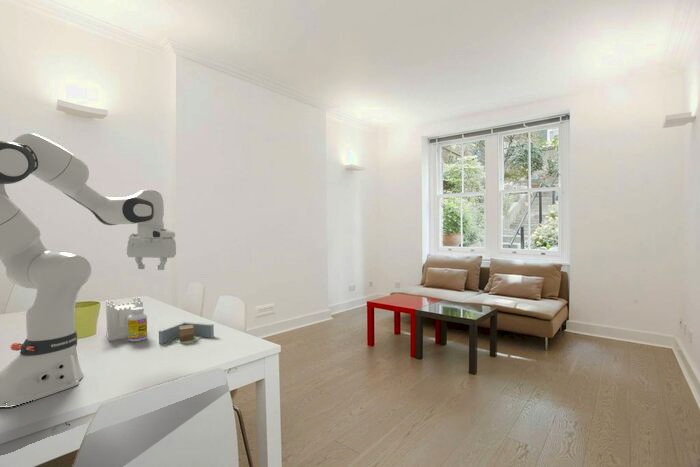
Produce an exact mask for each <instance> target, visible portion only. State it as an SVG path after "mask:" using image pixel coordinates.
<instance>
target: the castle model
mask: <svg viewBox="0 0 700 467" xmlns="http://www.w3.org/2000/svg"><path fill="white" fill-rule="evenodd" d="M136 307H143V308H144V302H143V300H141V297H140V296H134V297H132V302H126V303H125V302H124V303H122V304H120V303H117V305H116V304H115V303H114V300H113V299H110V300H105V311H106V312H105V313H106V331H105V332H106V338H107V341H108V342H109V341H115V340H116V341H117V340H121V339H127V338H128V317H129V316H130V315H131V309H132V308H136Z"/></svg>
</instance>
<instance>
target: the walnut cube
mask: <svg viewBox="0 0 700 467" xmlns="http://www.w3.org/2000/svg"><path fill="white" fill-rule="evenodd" d="M179 333H180V337H179V338H180V342H183V341H190V340H194V328H193V325H185V326H179Z"/></svg>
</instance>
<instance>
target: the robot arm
mask: <svg viewBox="0 0 700 467" xmlns="http://www.w3.org/2000/svg"><path fill="white" fill-rule="evenodd" d="M29 175H33V177H34V176H35V177H36V178H38V179H39V180H41V181H42V182H44V183H46V184H48V185H49V186H52V187H53V188H55V189H57V190H59V191H60V192H62V193H63V194H64V195H66V196H67V197H69V198H70V199H72V200H73V201H75V202H76V203H78V204H79V205H81V206H82V207H84V208H85V209H87V210H89V211H90V212H91V213H92V215H94V217H95V218H96V219H97V221H99V222H101V223H102V224H104V225H106V226H116V225H135V224H137V226H136V228H137V230H136V232H135V233H131V234H130V236H128V241H127V246H126V255H127V257H128V258H134V260H135V263H136V265H137V269H138V270H144V269H145V264H144V263H143V258H148V259H149V258H153V259H156V258H157V259H159V261H160V263H159V264H158V265H157V270H158V271H163V270H165V265H166V264H167V261H168V259H170V258H171V259H172V258H175V256H176V255H177V244H176V239H175V238H176V233H175V232H174V231H172V230H169V229H167V228H165V223H164V215H165V214H164V213H165V212H164V211H165V207H164V199H163V196H162V194H161V193H160V192H159V191H156V190H153V189H145V188H144V189H140V190H139V191H138V192H136V193H135V194H131V195H128V196H122V197H109V196H104V195H102V194H101V193H99V192H97V191H96V190H94V189H93V188H92V187H90V186H89V185H88V184H86V183H87V182H88V180H89V177H90V176H89V175H90V171H89V166H88V165H87V164H86V163H85V162H84V161H83V160H82V159H81V158H79V157H78V156H76V155H75V154H74V153H72V152H70V151H69V150H67V149H66V148H64V147H62V146H61V145H59V144H57V143H55V142H53V140H52V141H51V140H50V139H48V138H46V137H43V136H40V135H39V134H36V133H23V134H21V135H20V136H19V135H18V136H17V137H15V139H13V140H12V141H6V140H0V261H1V263H2V264H3V266H4V267H5V268H6V269H5V274H6V277H7V279H8V280H9V281H10V282H11V283H13V284H15V285H17V286H19V287H23V288H25V289H33V290H34V289H35V290H36V295H35V297H34V301H33V304H32V306H31V307H29V308H28V309H27V311H26V314H25V323H26V324H25V325H26V326H25V328H26V329H25V330H26V338H25V340H24V342H23V343H19V342H13V343H11V345H10V347H9V349H10V350H12V351H16V352H18V351H19V354H18V355H17V356H16V357H15V358H14V359H13V360H11V361H10V363H8V364H7V365H6V366H5V367H4V368H3V369H1V371H0V406H6V405H7V406H11V405H18V404H22V403H25V404H27V403H26V402H28V403H30V402H29V401H31V402H33V401H37V400H38V399H42V398H44V397H47V396H50V395H53V394H56V393H59V392H62V391H64V390H68V389H70V388H73V387H75V386H78V385H79V383H80V380H81V379H82V378H83V377H84V372H83V371H82V369H81V365H80V363H79V362H80V361H79V357H78V352H77V345H78V333H77V330H76V325H75V324H76V321H75V319H76V318H75V317H76V316H75V315H76V314H75V310H76V308H75V307H76V304H77V298H78V297H79V293H80V290H81V289H82V288H83V286H84V285H85V284H86V283H87V282H88V281H89V279H90V278H91V275H92V266H91V263H90V262H89V260H88V259H86V257H84V256H81V255H79V254H77V253H76V254H75V253H71V252H63V251H62V252H61V251H60V252H59V251H58V252H57V251H56V252H54V251H51V250H49V249H48V248H46V247H45V245H44V243H43V242H42V240H41V238H40V237H41V230H40V228H39V227H38V226H37V225H36V224H35V223H34V222H33V221H32V220H31V219H30V218H29V217H28V216H27V215H26V214H25V212H24V211H23V210H22V209H20V208H19V206H18V205H17V204H16V203H14V201H12V199H10V196H8V193H7V192H6V188H5V185H10V184H16V183H19V182H21V181H23V180H25V179H26V178H28V177H29ZM32 400H33V401H32ZM6 403H7V404H6ZM22 405H23V404H22Z"/></svg>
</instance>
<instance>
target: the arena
mask: <svg viewBox="0 0 700 467" xmlns="http://www.w3.org/2000/svg"><path fill="white" fill-rule="evenodd" d="M185 325H193V328H194V340H190V341H183V342H180V333H179V326H185ZM214 328H215V325H214V324H213V323H205V322H204V323H203V322H202V323H201V322H191V321H183V322H180V323H176V324H174V325H172V326H168V327H166V328H163V329H161V330H158V344H161V345H163V344H166V343H168V342H171V343H175V344H184V345H188V344H191V343H193V342H195V341H198V340H200V339H202V338H203V337H204V338H213V337H214V336H215V331H214Z"/></svg>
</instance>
